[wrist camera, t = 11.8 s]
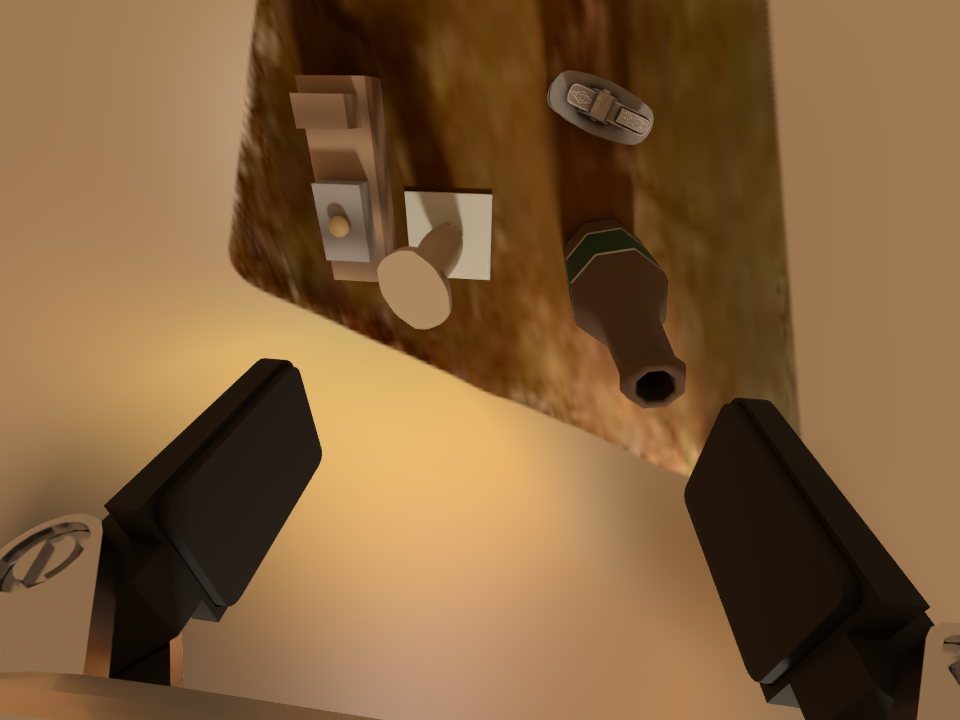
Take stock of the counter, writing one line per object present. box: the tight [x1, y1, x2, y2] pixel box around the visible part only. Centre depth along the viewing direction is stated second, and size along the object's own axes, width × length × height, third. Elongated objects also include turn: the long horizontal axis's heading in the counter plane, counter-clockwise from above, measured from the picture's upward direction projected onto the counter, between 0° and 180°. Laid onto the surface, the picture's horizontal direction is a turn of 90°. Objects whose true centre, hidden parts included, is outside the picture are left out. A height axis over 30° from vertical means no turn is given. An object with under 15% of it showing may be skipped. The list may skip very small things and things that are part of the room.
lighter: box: [547, 70, 654, 145], centre depth 31 cm, size 8×3×10 cm, turn 69°
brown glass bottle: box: [564, 218, 686, 408], centre depth 32 cm, size 8×8×24 cm
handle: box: [377, 222, 463, 329], centre depth 37 cm, size 5×6×15 cm
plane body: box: [289, 75, 397, 282], centre depth 38 cm, size 18×6×7 cm, turn 179°
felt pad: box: [405, 191, 492, 280], centre depth 43 cm, size 9×9×1 cm
